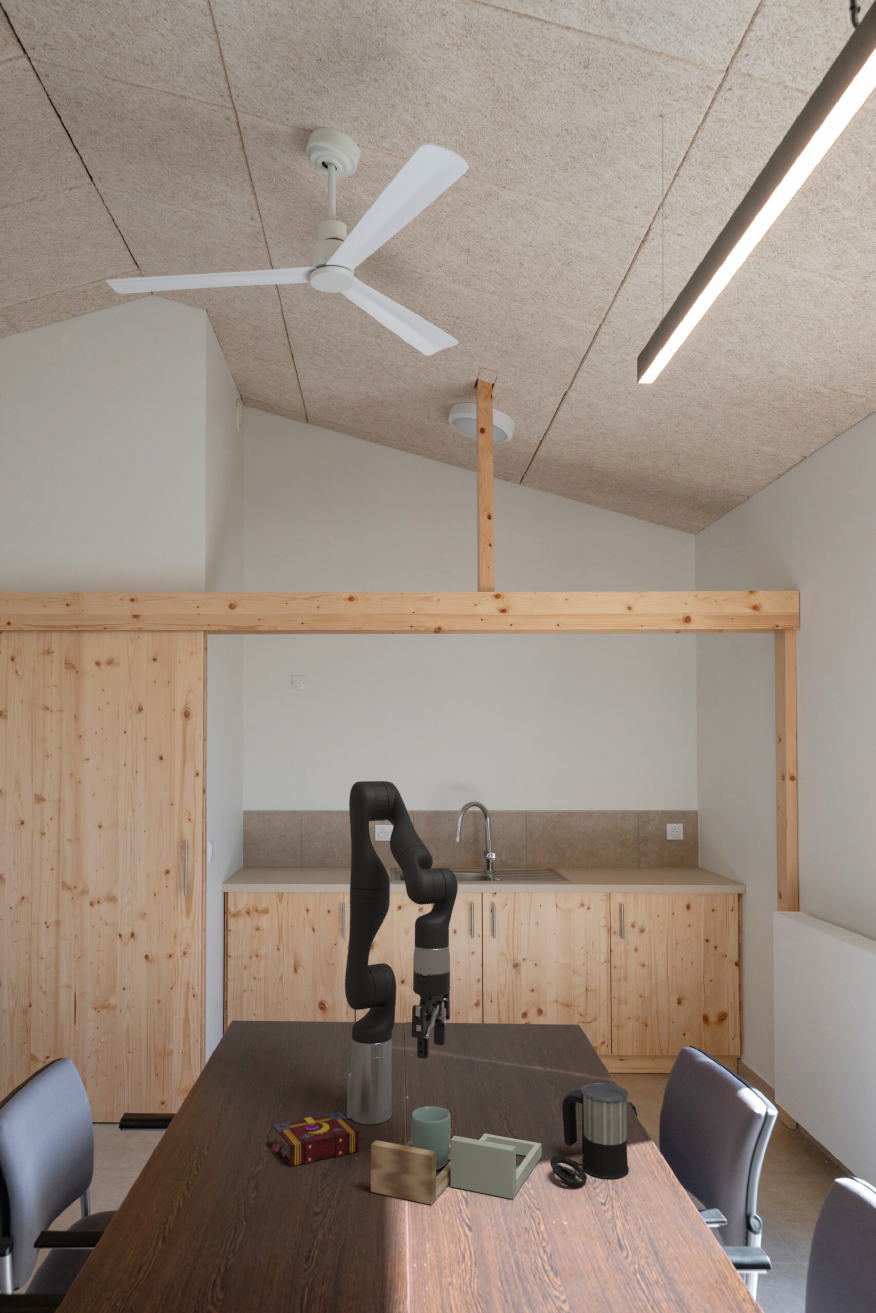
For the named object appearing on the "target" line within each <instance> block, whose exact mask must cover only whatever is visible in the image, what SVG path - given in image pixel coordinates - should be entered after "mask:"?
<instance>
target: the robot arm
mask: <svg viewBox="0 0 876 1313" xmlns="http://www.w3.org/2000/svg"><path fill="white" fill-rule="evenodd" d="M348 800H349V802H348V803H349V804H348V807H349V808H348V810H349V811H348V812H349V826H350V829H349V830H350V843H351V844H350V848H351V849H350V851H351V854H350V855H351V857H350V880H349V933H348V934H349V935H348V936H349V937H348V948H347V949H348V950H347V958H346V967H345V975H344V976H345V978H344V992H345V998H346V1002H347V1004H348V1006H349V1007H350V1008H351V1009H353V1011H354V1010H355V1011H360V1010H366V1009H369V1010H368V1011H367V1013H366V1014H364V1016H362V1017H361V1018H360V1019H357V1021H356V1022H354V1023H353V1024H352V1028H351V1062H350V1063H351V1067H350V1068H351V1070H350V1072H349V1073H348V1074H347V1084H346V1085H347V1087H346V1088H347V1090H346V1093H347V1099H346V1102H347V1103H346V1118H347V1119H350V1120H352V1121H353V1122H354V1123H357V1124H362V1125H378V1124H382V1123H385V1122H387V1121H389V1120H390V1119H391V1118H392V1108H393V1107H392V1102H393V1101H392V1096H393V1092H392V1091H393V1088H392V1082H393V1079H392V1078H393V1076H392V1075H393V1067H392V1066H393V1064H392V1063H393V1030H394V1027H395V1023H396V1022H395V1020H396V1019H395V1018H396V1003H397V1001H396V1000H397V980H396V975H395V972H394V970H393V968H392V966H390V965H389V964H387V963H386V962H382V963H374V964H369V961H370V960H369V959H370V952H371V947H372V944H373V942H374V939H375V937H376V935H377V933H378V932H379V930H380V929H381V927H382V925H383V922H385V920H386V916H387V915H388V913H389V912H388V911H389V909H390V900H391V898H390V897H391V892H390V891H391V881H390V875H389V873H388V870H387V869H386V866H385V865H384V863H383V862H382V859H381V858H380V857H379V855H378V853H377V851H376V849H375V848H374V845H373V843H372V839H371V835H370V822H378V821H379V822H380V821H381V822H383V821H388V822H389V823H390V824H391V825H392V826H393V828H392V831H391V834H390V839H389V849H390V852H391V855H392V857H393V858H394V860H395V862H396V863H397V864H398V867H399V868H400V870H401V872H402V876H403V879H404V886H405V891H406V894H407V897H408V899H409V900H411V901H412V902H413V903H414V904H416V905H420V906H421V905H422V906H423V905H432V904H433V906H432V908H431V910H430V911H429V912H427V913H424V914H422V915H419V916H418V917H416V919H415V922H414V948H413V949H414V950H413V958H412V959H413V970H412V971H413V972H412V973H413V974H412V975H413V976H412V977H413V978H412V979H413V980H412V983H413V984H412V990H413V993H414V994H416V995H418V996H419V997H420V999H419V1004H417V1005H415V1004H413V1006H412V1008H411V1009H412V1010H411V1012H412V1013H411V1037H412V1038H416V1040H417V1041H416V1042H417V1043H416V1045H417V1046H416V1050H417V1051H416V1056H417V1058H419V1059H425V1060H426V1059H427V1058H429V1054H430V1052H429V1051H430V1050H429V1048H430V1043H429V1042H430V1038H429V1037H430V1033H431V1029H433V1043H434V1045H437V1046H444V1045H445V1044H446V1026H447V1023H448V1021H449V1020H451V1001H450V1000H451V999H450V990H451V954H450V923H451V918H452V914H453V910H454V907H455V904H456V899H457V896H458V888H459V886H458V884H459V883H458V880H457V879H458V878H457V877H456V874H455V873H454V871H453V870H452V869H450V868H448V867H436V868H432V867H433V865H434V864H433V863H434V862H433V860H434V859H433V856H432V854H431V852H430V851H429V849H428V848H427V846H426V844H425V843H424V841H423V840H422V839H421V837H420V836H419V834H418V833H417V831H416V829H415V827H414V824H413V822H412V820H411V817H410V814H409V812H408V809H407V807H406V805H405V804H406V803H405V802H404V800H403V797H402V795H401V793H400V791H399V789H398V788H397V786H396V785H395V784H394V783H393V782H390V781H386V780H369V781H367V780H365V781H364V780H363V781H356V782H354V783H353V785H352V786H351V789H350V793H349V799H348Z"/></svg>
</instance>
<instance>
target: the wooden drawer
mask: <svg viewBox="0 0 876 1313" xmlns="http://www.w3.org/2000/svg"><path fill="white" fill-rule="evenodd" d="M447 1160H448V1161H449V1162H448V1164H447V1165H446V1166H444V1168H443V1169H442V1170H441V1172H440V1173H439V1174H438V1175H437V1170H436V1151H430V1150H425V1149H420V1148H415V1147H412V1138H410V1140H409V1141H408V1142H406V1144H404V1145H403V1144H398V1143H393V1142H387V1141H383V1140H377V1139H376V1140H374V1141H373V1142H372V1143H371V1146H370V1192H372V1193H376V1194H380V1195H385V1196H389V1197H390V1196H391V1197H394V1198H399V1199H404V1200H408V1201H412V1202H413V1201H414V1202H418V1203H422V1204H428V1205H433V1204H434V1203H435V1202H436V1200H437V1199H438V1198H439V1196H440V1195H441V1194H442V1193H443V1192H444V1191H445V1189H446V1188H448V1186H449V1185H450V1184H451V1144H450V1150H449V1156H448V1159H447Z"/></svg>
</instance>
